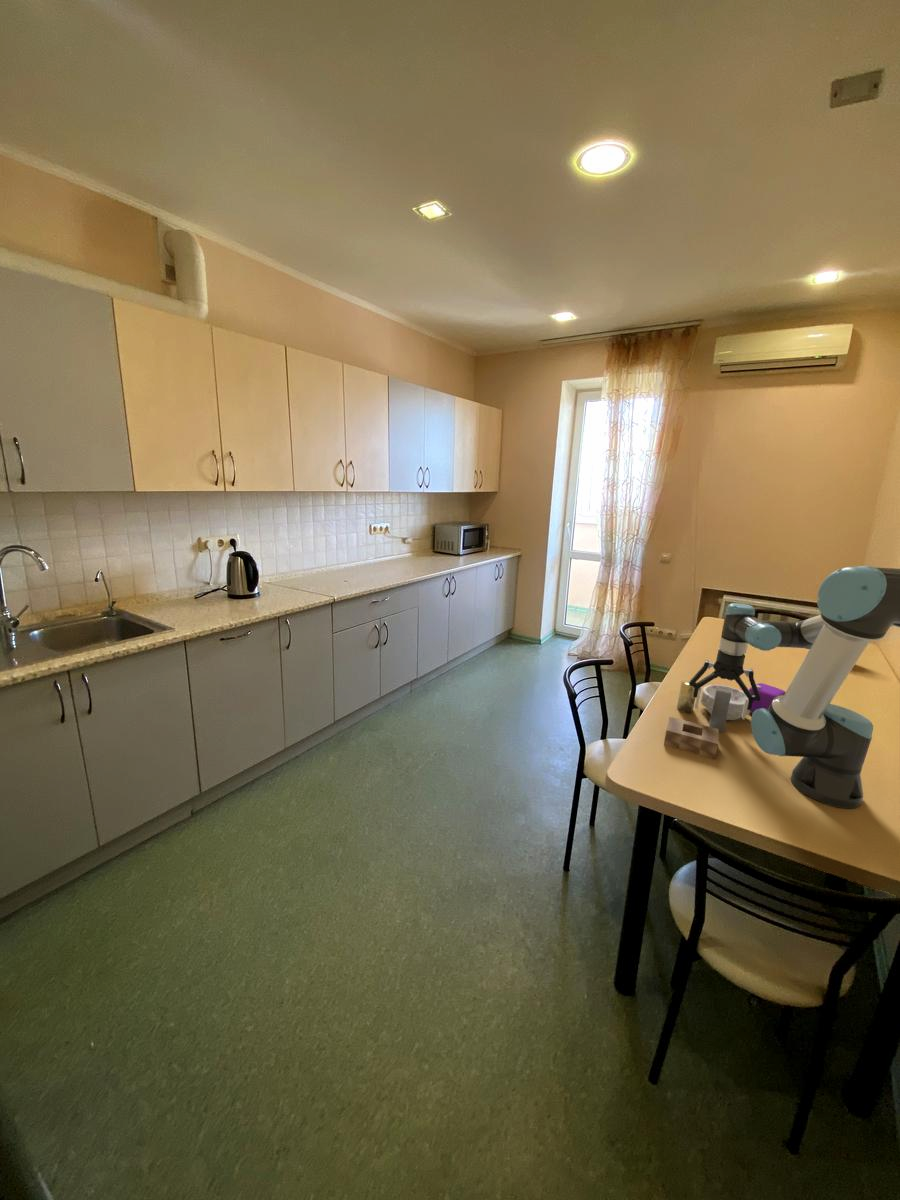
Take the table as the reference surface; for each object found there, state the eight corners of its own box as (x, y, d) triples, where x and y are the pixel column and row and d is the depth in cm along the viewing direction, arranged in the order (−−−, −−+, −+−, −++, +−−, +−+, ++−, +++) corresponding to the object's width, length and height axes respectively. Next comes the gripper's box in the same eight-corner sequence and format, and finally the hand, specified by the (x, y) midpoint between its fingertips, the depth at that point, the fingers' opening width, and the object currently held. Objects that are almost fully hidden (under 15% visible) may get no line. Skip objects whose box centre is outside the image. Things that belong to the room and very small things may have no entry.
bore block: (715, 743, 147) (718, 729, 146) (715, 759, 138) (718, 744, 137) (667, 730, 153) (669, 716, 152) (663, 744, 145) (666, 730, 144)
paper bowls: (702, 719, 162) (706, 698, 160) (696, 700, 176) (700, 681, 174) (752, 728, 157) (757, 707, 155) (742, 708, 171) (747, 688, 169)
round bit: (693, 708, 169) (698, 682, 167) (692, 714, 165) (697, 688, 162) (677, 704, 172) (682, 679, 169) (676, 710, 167) (680, 684, 165)
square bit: (723, 727, 157) (731, 688, 153) (723, 732, 153) (731, 693, 150) (709, 723, 159) (716, 685, 155) (708, 729, 155) (716, 690, 152)
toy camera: (785, 710, 171) (791, 685, 168) (778, 723, 161) (784, 697, 158) (751, 700, 178) (756, 676, 175) (742, 712, 168) (748, 686, 166)
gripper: (777, 656, 147) (763, 717, 152) (689, 640, 158) (678, 697, 164) (779, 664, 140) (764, 727, 146) (687, 646, 152) (676, 706, 157)
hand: (719, 711), depth 155 cm, fingers open, 13 cm apart
